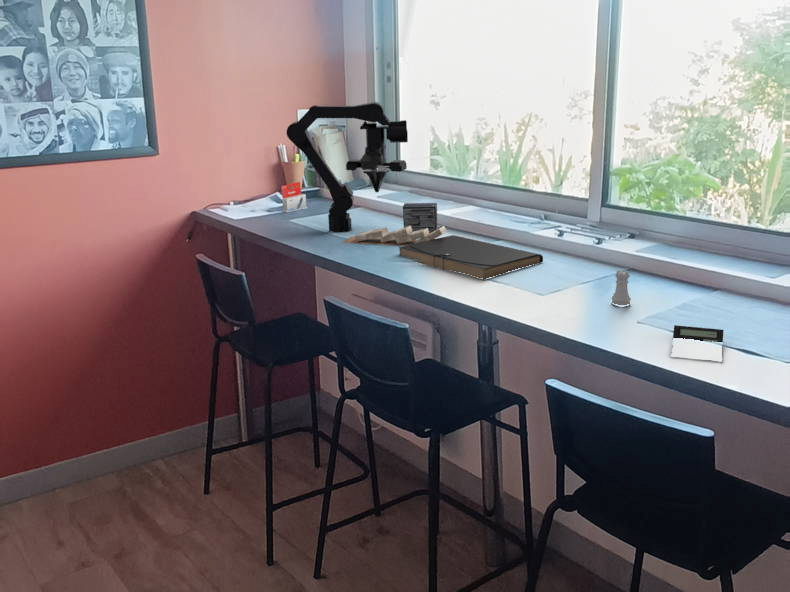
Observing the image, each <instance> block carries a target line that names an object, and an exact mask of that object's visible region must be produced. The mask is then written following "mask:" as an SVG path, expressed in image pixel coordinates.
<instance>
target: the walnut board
mask: <svg viewBox="0 0 790 592" xmlns="http://www.w3.org/2000/svg"><path fill="white" fill-rule="evenodd" d="M418 240H419V239H416V240H412V241H408V242H404V243H401V244H397V240H396V239H393V240H390V241H387V242H384V243H381V240H380V237H378V238H373V239H368V240H363V241H358V242H356V239H355V236H350V237H348V238H346V239H345V240H344V241H342V243H343V244H344V243H345V244H359V245H361V244H362V245H377V246H378V245H379V246H397V247H403V246H408V245H410V244H414V243H415V242H417V241H418Z"/></svg>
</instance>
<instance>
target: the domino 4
mask: <svg viewBox="0 0 790 592" xmlns="http://www.w3.org/2000/svg"><path fill="white" fill-rule="evenodd" d="M446 232H447V228H446V227H445V225H443V226H441V227H439V228H437V230H435V231H433V232H432V233H430V234H428V235H427V236H426V237H424V238H420V239H417V240H418V241H417V242H415V243H419V242H423V241H428V240H433V239H437V238H440V236H442V235H444V234H445V233H446Z"/></svg>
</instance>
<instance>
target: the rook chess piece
mask: <svg viewBox="0 0 790 592" xmlns="http://www.w3.org/2000/svg"><path fill="white" fill-rule="evenodd" d="M614 276H615V278H616V281H615V283H616V284H615V285H616V286H615V291H614V293H613V295H612V297H611V301H612V303H614V304H618V305H627V304H630V303H631V300H632V299H631V296H630V294H629V289H628V284H629V281H628V280H629V278H630V274H629V271H628V270H624V269H619V270H617V271H616V273H615V275H614ZM612 303H611V304H612ZM630 305H631V304H630Z"/></svg>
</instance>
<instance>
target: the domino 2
mask: <svg viewBox="0 0 790 592" xmlns="http://www.w3.org/2000/svg"><path fill="white" fill-rule="evenodd" d="M412 231H413V230H412V228H411V226H408V227H405V228H404V227H403V228H400V229H396V230H393V231H390V232H388V233H387V234H386V235H385V236H383V237H379V238H380V240H381V243H384V242H387V241H390V240H393V239H396V238H399V237H402V236H405V235H408V234H409V233H411V232H412Z"/></svg>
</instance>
